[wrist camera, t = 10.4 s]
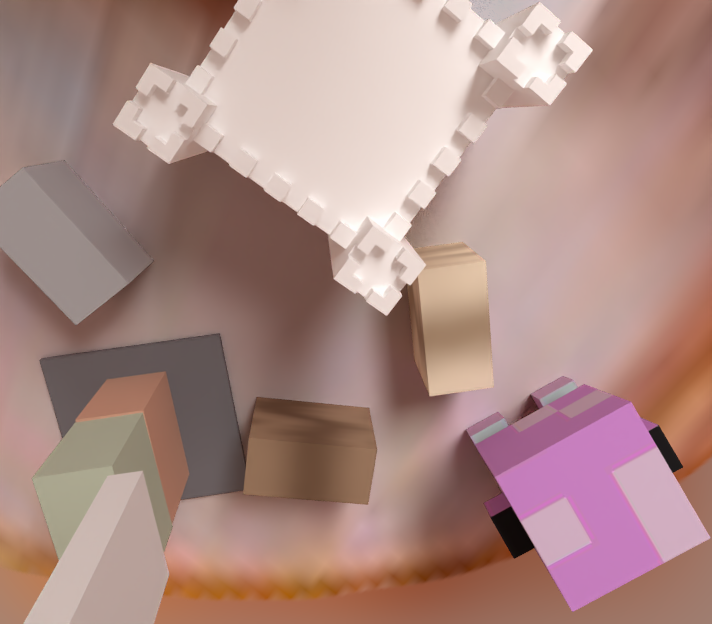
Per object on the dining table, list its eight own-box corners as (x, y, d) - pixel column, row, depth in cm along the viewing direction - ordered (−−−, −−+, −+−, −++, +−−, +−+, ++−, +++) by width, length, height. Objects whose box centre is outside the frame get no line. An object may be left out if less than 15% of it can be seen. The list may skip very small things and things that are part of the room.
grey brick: (17, 200, 39) (-33, 214, 34) (64, 160, 39) (22, 167, 33) (108, 297, 42) (76, 325, 36) (154, 260, 41) (128, 283, 35)
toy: (500, 525, 48) (549, 623, 33) (447, 433, 48) (472, 489, 33) (625, 457, 47) (733, 525, 32) (571, 364, 47) (654, 389, 32)
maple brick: (403, 249, 42) (417, 270, 36) (462, 241, 42) (485, 261, 36) (414, 360, 44) (429, 396, 39) (470, 352, 45) (493, 387, 39)
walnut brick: (251, 446, 46) (243, 494, 40) (256, 396, 44) (248, 437, 39) (361, 456, 46) (368, 504, 41) (368, 407, 45) (377, 449, 40)
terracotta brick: (106, 379, 43) (75, 419, 37) (165, 371, 43) (143, 410, 37) (133, 481, 45) (107, 534, 39) (189, 473, 45) (171, 525, 40)
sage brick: (74, 422, 37) (31, 478, 31) (142, 412, 37) (112, 466, 31) (108, 536, 39) (74, 607, 34) (172, 526, 40) (149, 596, 34)
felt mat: (41, 358, 42) (39, 360, 42) (219, 333, 43) (218, 335, 42) (86, 510, 46) (84, 513, 46) (250, 486, 46) (249, 489, 46)
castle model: (177, 123, 39) (99, 126, 24) (311, -86, 36) (311, -220, 22) (362, 255, 42) (388, 326, 28) (497, 73, 39) (605, 48, 25)
